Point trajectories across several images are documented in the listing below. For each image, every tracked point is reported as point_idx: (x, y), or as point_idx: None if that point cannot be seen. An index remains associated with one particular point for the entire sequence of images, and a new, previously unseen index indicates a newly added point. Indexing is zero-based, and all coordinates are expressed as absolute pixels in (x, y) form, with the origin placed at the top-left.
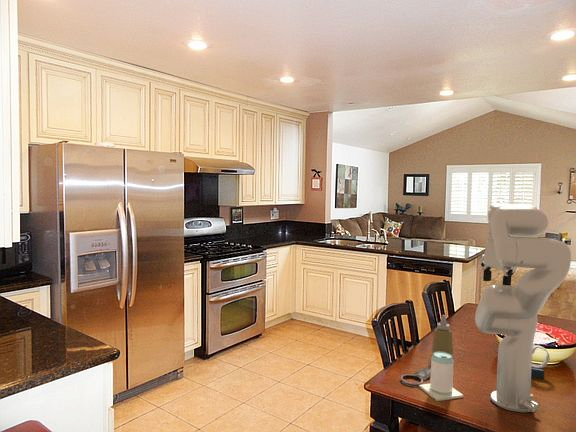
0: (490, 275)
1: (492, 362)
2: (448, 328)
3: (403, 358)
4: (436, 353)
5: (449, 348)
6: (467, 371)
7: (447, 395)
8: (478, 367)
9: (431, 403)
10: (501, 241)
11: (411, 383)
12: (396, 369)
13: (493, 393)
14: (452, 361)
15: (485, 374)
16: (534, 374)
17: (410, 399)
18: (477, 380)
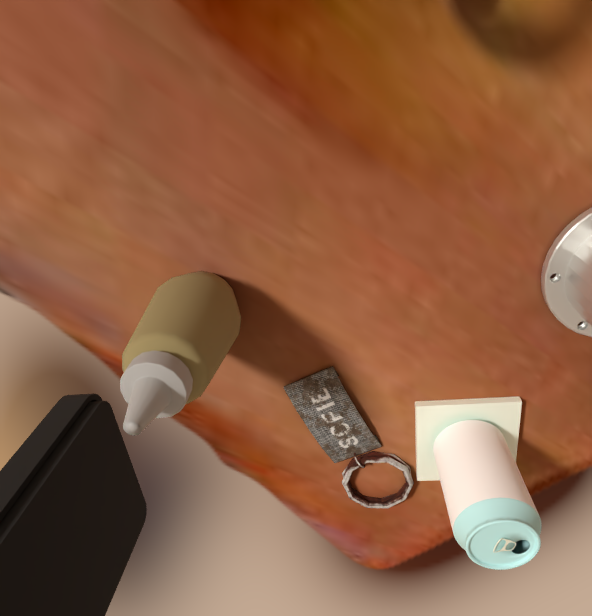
0: (52, 504)
1: (250, 79)
2: (186, 372)
3: (191, 424)
4: (473, 550)
5: (231, 322)
6: (332, 265)
7: (507, 444)
8: (300, 192)
9: None
10: None
11: (406, 497)
12: (282, 478)
13: (560, 310)
14: (534, 515)
15: (373, 208)
16: None
17: None
18: (418, 276)
